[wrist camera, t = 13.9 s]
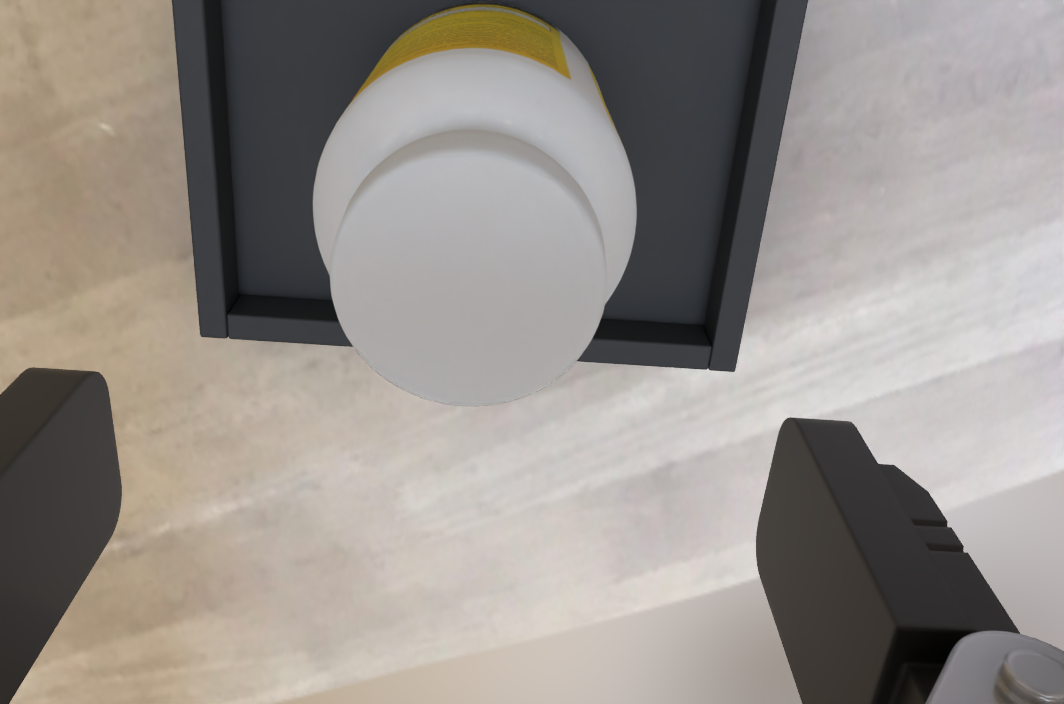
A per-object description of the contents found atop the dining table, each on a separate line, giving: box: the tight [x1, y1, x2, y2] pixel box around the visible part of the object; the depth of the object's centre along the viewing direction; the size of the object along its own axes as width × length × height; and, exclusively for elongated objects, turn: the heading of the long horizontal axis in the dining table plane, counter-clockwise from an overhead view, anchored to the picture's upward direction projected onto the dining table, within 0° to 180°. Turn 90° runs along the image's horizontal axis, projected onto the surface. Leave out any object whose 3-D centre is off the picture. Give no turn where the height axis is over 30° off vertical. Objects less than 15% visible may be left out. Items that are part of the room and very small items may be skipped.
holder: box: [172, 0, 808, 372], centre depth 26 cm, size 16×13×2 cm
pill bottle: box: [313, 2, 637, 406], centre depth 21 cm, size 6×6×12 cm
